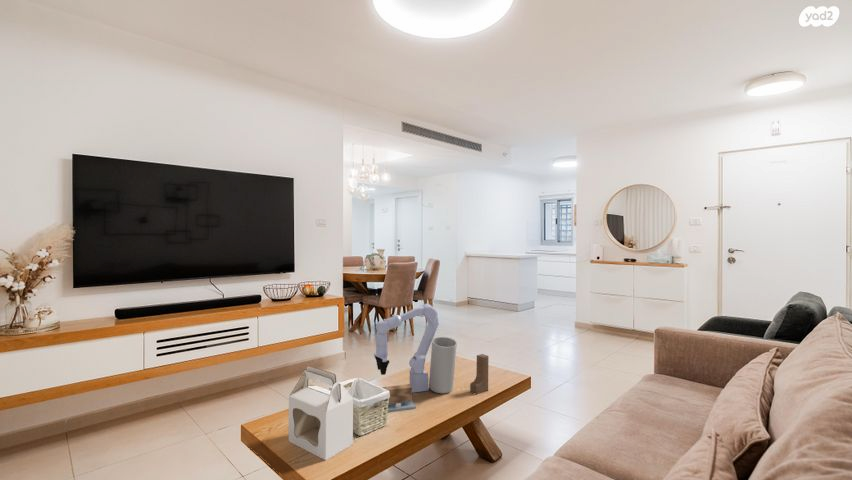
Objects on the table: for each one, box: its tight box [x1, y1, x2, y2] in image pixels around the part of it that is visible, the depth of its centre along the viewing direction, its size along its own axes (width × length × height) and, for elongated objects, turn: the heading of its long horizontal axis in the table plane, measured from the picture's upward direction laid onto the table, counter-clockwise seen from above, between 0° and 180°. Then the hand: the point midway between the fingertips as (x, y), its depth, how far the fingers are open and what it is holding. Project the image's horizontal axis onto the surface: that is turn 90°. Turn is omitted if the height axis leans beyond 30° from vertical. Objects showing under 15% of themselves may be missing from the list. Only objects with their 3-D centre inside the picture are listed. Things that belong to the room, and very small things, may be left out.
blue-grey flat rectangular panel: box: [387, 399, 417, 413], centre depth 180 cm, size 16×9×1 cm, turn 109°
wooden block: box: [469, 353, 489, 395], centre depth 199 cm, size 9×4×18 cm, turn 128°
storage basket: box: [328, 377, 390, 437], centre depth 165 cm, size 24×16×15 cm
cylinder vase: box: [428, 336, 458, 394], centre depth 199 cm, size 12×12×25 cm
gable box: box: [288, 365, 354, 461], centre depth 148 cm, size 22×13×28 cm, turn 54°
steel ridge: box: [393, 402, 401, 408], centre depth 180 cm, size 2×7×2 cm, turn 19°
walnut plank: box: [382, 383, 413, 403], centre depth 180 cm, size 14×4×6 cm, turn 108°
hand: (381, 371), depth 197 cm, fingers open, 7 cm apart
